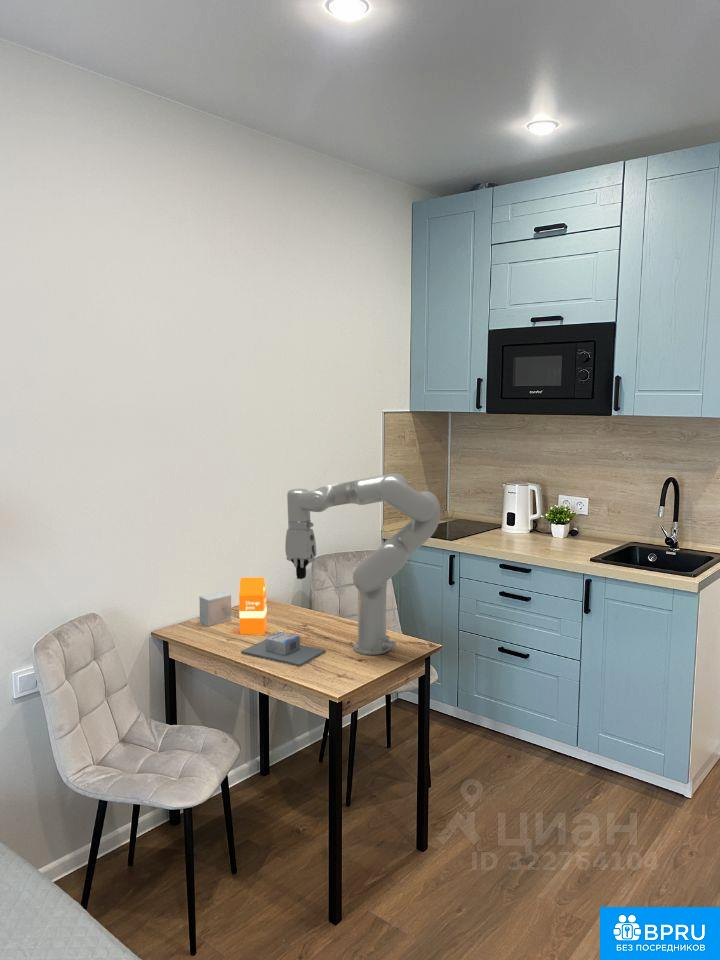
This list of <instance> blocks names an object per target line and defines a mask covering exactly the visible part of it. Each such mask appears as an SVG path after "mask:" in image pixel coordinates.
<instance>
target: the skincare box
mask: <svg viewBox="0 0 720 960" xmlns="http://www.w3.org/2000/svg"><path fill="white" fill-rule="evenodd" d="M198 600H199V623H200V624H201V625H204V626H206V627H208V626H209V627H212V625H213V626H216V624H217V625H221V624H224V622H225V623H228V621H229V622H232V595H231V594H229V593H228V592H225V591H219V592H215V593H209V594H205V595H201V596H199V599H198ZM220 623H221V624H220Z"/></svg>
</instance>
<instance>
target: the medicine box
mask: <svg viewBox="0 0 720 960" xmlns="http://www.w3.org/2000/svg"><path fill="white" fill-rule="evenodd" d="M300 638H301V637H300V635H294V634H290V633H285V632H283V631H281V632H280V631H279V632H278V633H276V634H273V635H270V636H268V637H266V638H265V639H266V651H269V652H273V653H277V654H281V655H287V654H289V653H291V652H293V651H296V650H298V649H300V645H301V639H300Z"/></svg>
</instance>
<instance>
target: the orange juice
mask: <svg viewBox="0 0 720 960" xmlns="http://www.w3.org/2000/svg"><path fill="white" fill-rule="evenodd" d="M238 600H239V604H238V605H239V634H240V635H265V632H266V631H267V628H268V626H267V625H268V623H267V622H268V621H267V618H268V617H267V616H268V615H267V612H268V611H267V589H266V581H265V577H240V581H239V595H238ZM265 630H266V631H265Z"/></svg>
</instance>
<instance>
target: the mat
mask: <svg viewBox="0 0 720 960" xmlns="http://www.w3.org/2000/svg"><path fill="white" fill-rule="evenodd" d="M241 653H242V655H246V656H250V655H251V656H252V657H255V656H256V657H255V658H259V657H261V658H260V659H263V658H266V659H265V660H268V659H270V660H269V661H272V660H274V662H277V661H279V662H278V663H281V662H283V663H282V664H286V663H287V664H286V665H290V664H291V665H290V666H294V665H296V667H299V666H301V667H302V666H304V665H306V664H308V663H309V662H311V661H313V660H315V659H316V658H318V657H320V656H321V654H322V655H323V654H325V653H326V649H323V648H318V647H314V646H309V645H303V644H300V649H298V650H296V651H293V652H291V653H289V654H287V655H281V654H277V653H273V652H269V651H266V638H265V639H263V640H262V641H260V642H258V643H255V644H253V645H250V646H248V647H246V648H244V649H243V650H240V654H241ZM314 658H315V659H314ZM312 659H313V660H312ZM307 662H308V663H307ZM305 663H306V664H305ZM303 664H304V665H303Z"/></svg>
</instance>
